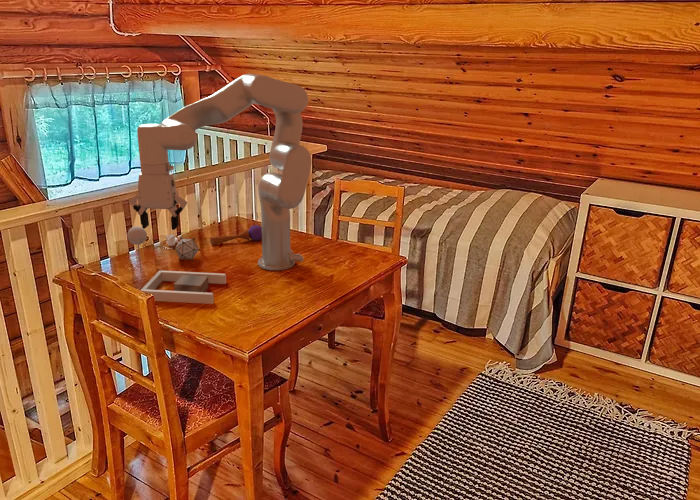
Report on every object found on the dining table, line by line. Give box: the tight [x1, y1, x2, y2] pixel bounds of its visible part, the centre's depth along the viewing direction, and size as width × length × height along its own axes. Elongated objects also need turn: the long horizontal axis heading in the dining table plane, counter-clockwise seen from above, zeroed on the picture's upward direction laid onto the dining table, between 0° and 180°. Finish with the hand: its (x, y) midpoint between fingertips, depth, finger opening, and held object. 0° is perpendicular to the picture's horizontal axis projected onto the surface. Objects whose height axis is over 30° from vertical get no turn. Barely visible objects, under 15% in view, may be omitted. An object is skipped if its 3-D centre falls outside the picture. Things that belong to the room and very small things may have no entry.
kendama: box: [209, 224, 262, 247], centre depth 214 cm, size 6×6×20 cm
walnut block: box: [173, 275, 209, 292], centre depth 172 cm, size 8×7×4 cm
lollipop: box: [126, 225, 148, 271], centre depth 184 cm, size 6×6×15 cm
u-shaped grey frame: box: [140, 270, 227, 305], centre depth 172 cm, size 21×15×3 cm
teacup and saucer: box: [165, 233, 179, 250], centre depth 209 cm, size 9×8×4 cm
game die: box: [172, 236, 201, 262], centre depth 195 cm, size 9×8×10 cm
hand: (160, 227), depth 166 cm, fingers open, 8 cm apart
